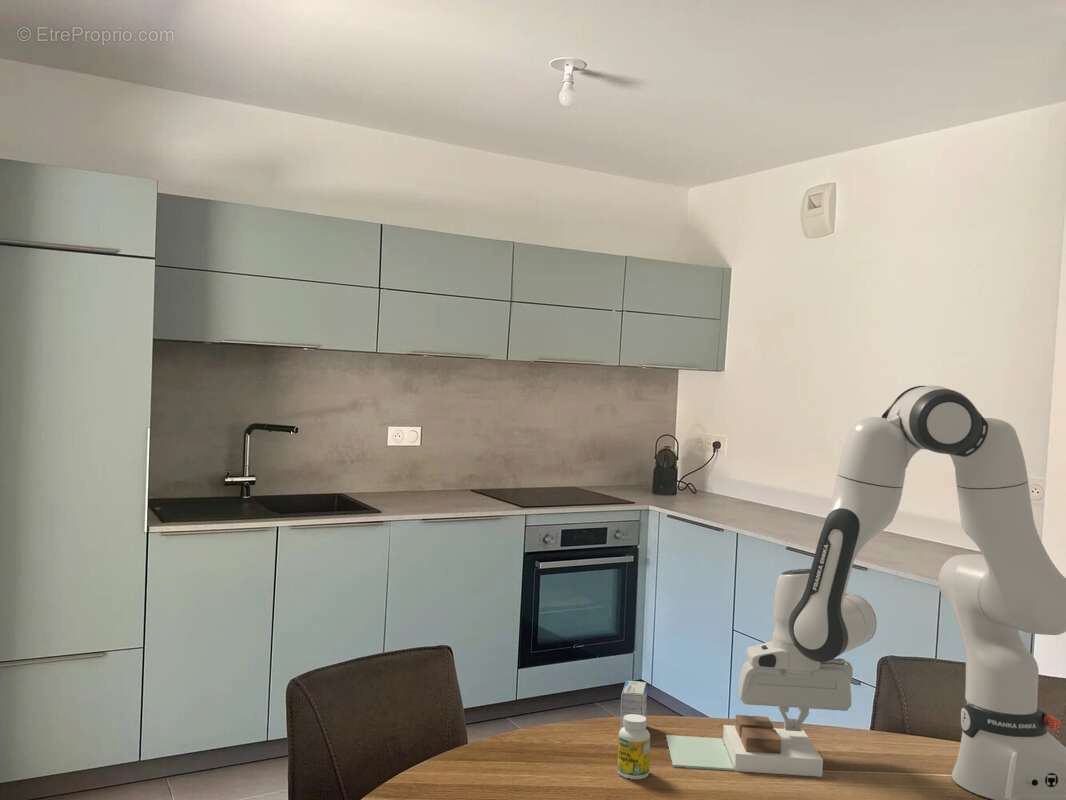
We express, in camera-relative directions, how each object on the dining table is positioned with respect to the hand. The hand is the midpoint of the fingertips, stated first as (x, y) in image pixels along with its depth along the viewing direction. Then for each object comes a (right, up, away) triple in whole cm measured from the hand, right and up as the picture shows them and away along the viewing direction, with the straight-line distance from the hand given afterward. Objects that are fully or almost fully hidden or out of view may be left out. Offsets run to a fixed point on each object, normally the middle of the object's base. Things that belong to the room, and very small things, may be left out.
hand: (792, 730), depth 165 cm
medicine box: (-29, -3, +8) cm, 30 cm away
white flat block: (-5, -4, -3) cm, 7 cm away
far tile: (-7, -1, 0) cm, 7 cm away
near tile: (-8, -1, -6) cm, 10 cm away
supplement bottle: (-31, -3, -12) cm, 34 cm away
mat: (-18, -3, -2) cm, 18 cm away
